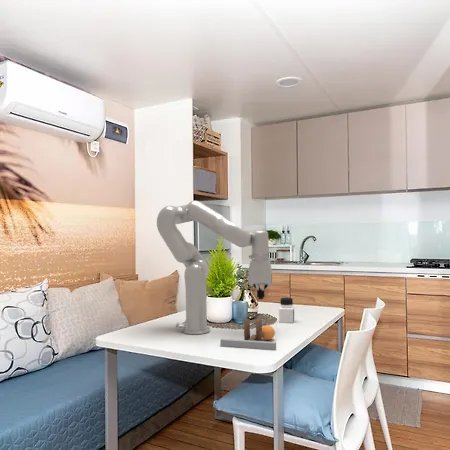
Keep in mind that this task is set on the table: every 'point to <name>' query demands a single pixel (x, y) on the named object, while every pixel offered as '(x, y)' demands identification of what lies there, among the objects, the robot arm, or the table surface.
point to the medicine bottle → (286, 310)
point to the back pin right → (258, 330)
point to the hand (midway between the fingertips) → (260, 298)
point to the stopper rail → (248, 344)
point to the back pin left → (246, 329)
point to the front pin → (252, 338)
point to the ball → (267, 332)
